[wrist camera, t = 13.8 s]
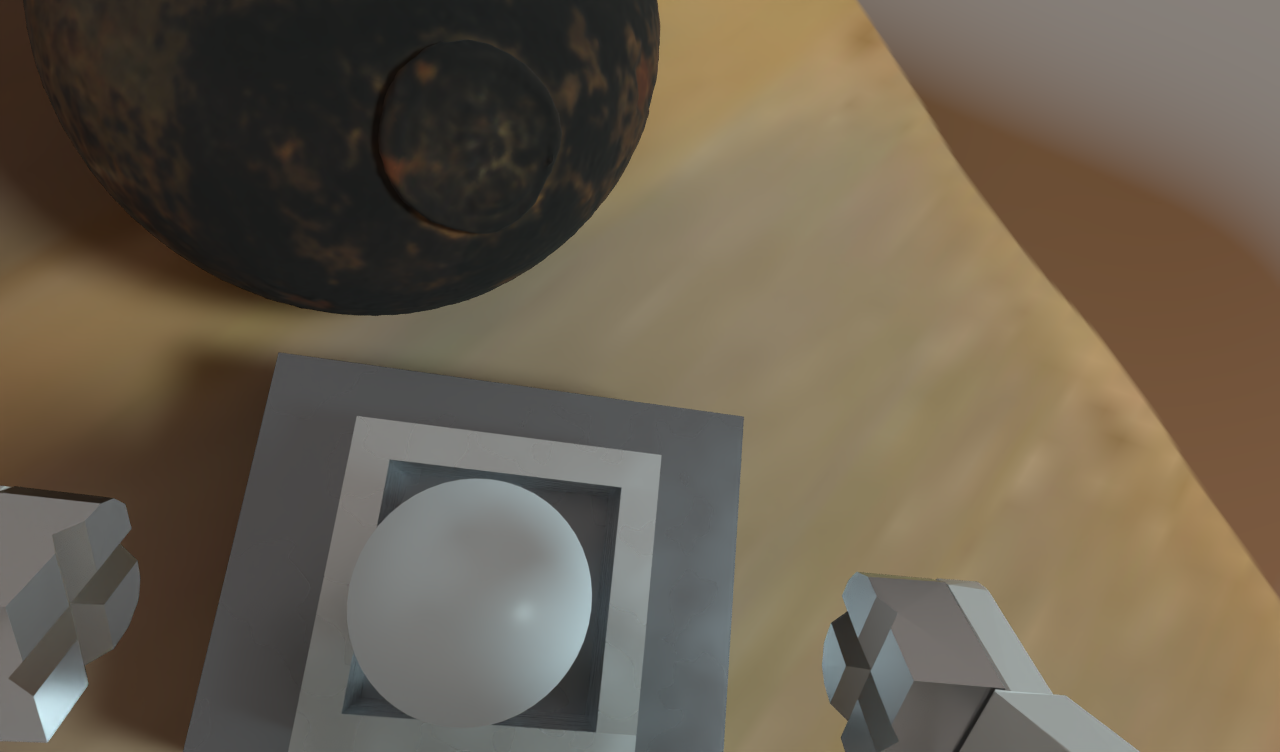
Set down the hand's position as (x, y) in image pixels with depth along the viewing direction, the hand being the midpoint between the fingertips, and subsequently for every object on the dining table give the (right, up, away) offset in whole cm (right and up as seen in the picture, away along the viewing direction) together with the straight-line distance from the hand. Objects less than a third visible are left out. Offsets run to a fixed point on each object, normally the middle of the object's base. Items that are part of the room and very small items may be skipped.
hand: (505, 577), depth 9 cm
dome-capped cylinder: (-3, -4, +13) cm, 13 cm away
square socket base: (-3, -5, +17) cm, 18 cm away
